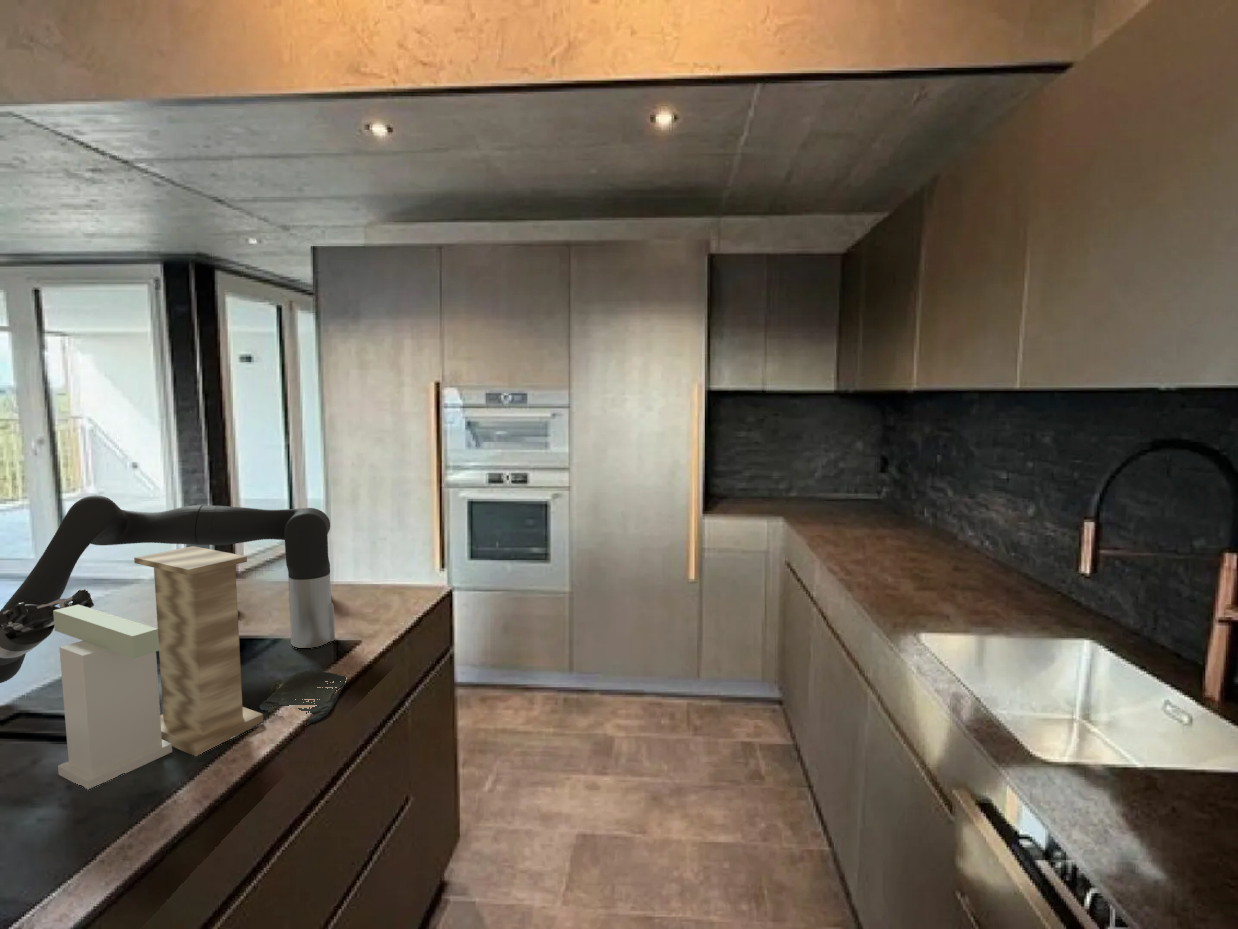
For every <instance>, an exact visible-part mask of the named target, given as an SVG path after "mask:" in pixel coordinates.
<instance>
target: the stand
mask: <svg viewBox="0 0 1238 929" xmlns="http://www.w3.org/2000/svg"><path fill="white" fill-rule="evenodd" d="M133 559H134V564H135V565H141V566H145V567H151V568H153V574H154V576H153V577H154V590H155V592H154V593H155V605H156V606H155V607H156V608H155V610H156V622H157V629H158V638H159V651H158V655H159V670H160V671H159V672H160V682H161V683H160V684H161V687H160V688H161V700H162V701H161V702H162V703H161V704H162V714H160V721H161V737H162V740H165V741H167V742H169V743H172V748H175V749H178V750H179V751H181V752H185V753H187V754H189V755H191V754H192V755H191V756H193V755H195V756H194V757H196V756H197V755H198V754H201V755H203V754H204V753H203V752H205V751H207V750H209V749H211V748H213V747H215V746H217V745H219V744H221V743H222V742H225V741H227V740H228V739H230V738H231V737H233V736H236V735H238V734H240V733H242V732H244V731H245V730H249V729H251V728H252V727H253V726H255V725H257V724H259V723H260V722H262V721H263V722H264V713H261V712H258V711H257V710H252V709H249V708H247V707H246V706H243V693H242V670H241V656H240V655H241V653H240V633H239V632H240V631H239V630H240V629H239V612H238V608H239V607H238V592H237V572H236V571H237V568H236V565H240V564H243V563H248V557H247V555H243V554H235V553H232V552H225V551H221V550H215V549H210V548H205V547H199V546H196V545H195V546H194V545H193V546H187V547H181V548H178V549H177V548H176V549H171V550H168V551H162V552H161V551H160V552H156V553H151V554H145V555H141V556H135V557H133ZM221 745H222V744H221ZM219 746H220V745H219ZM217 747H218V746H217ZM215 748H216V747H215ZM213 749H214V748H213ZM211 750H212V749H211ZM209 751H210V750H209ZM207 752H208V751H207ZM202 753H203V754H202ZM205 753H206V752H205ZM197 757H198V756H197Z"/></svg>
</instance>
